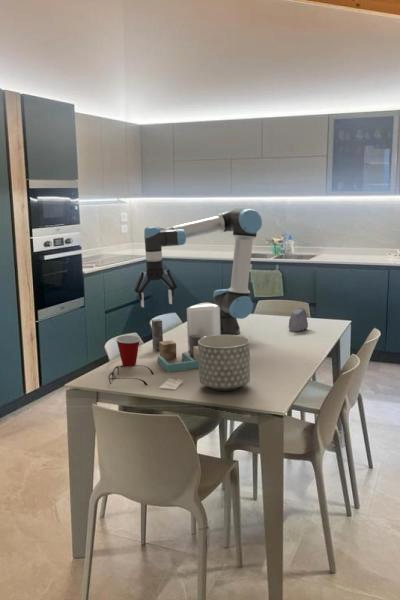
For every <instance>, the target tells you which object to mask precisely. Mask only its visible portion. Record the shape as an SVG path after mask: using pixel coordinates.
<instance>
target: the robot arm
mask: <svg viewBox="0 0 400 600" xmlns="http://www.w3.org/2000/svg"><path fill="white" fill-rule="evenodd" d="M262 223H263V220H262V216H261V214H260V213H259V212H258V211H257V210H256V209H253V208H234V209H231V210H227V211H224V212H220V213H217V214H216V215H215V216H212V217H209V218H208V217H207V218H203V219H200V220H194V221H190V222H185V223H181V224H177V225H173V226H168V227H164V228H162V227H160V226H147V227H145V228H144V230H143V231H144V234H143V235H144V236H143V238H144V249H145V260H146V261H145V263H146V264H145V265H146V271H139V277H138V280H137V282H136V285H135V287H134V289H133V292H135V293H137V294H138V300H139V301H140V307H141V308H145V300H144V299H145V297H144V295H145V294H144V292H143V291H144V290H145V289H146V287H148V284H149V283H150V282H151V281H152V282H153V281H159V280H161V281H162V283H164V285H165V286H167V288H168V290H167V291H168V304H170V305H173V297H175V296H174V295H175V294H174V293H175V292H174V290H175V289H178V286H177V283H176V282H175V280H174V279H173V276H172V275H171V271H170V270H169V269H167V268H166V269H164V267H163V252H162V251H163V249H162V248H164V247H165V248H166V247H174V246H175V247H176V246H177V247H178V246H183V245H185V244H186V242H187V239H191V238H195V237H200V236H205V235H208V234H212V233H213V234H214V233H217V232H219V233H226V232H232V236H233V238H234V240H235V241H234V249H233V250H234V251H233V261H232V262H233V263H232V270H231V280H230V287H229V288H223V289H216V290H214V291H213V296H212V297H213V304H216V305H218V306H219V307H220V331H221V335H238V334H240V332H241V329H240V328H241V327H240V324H239V322H238V320H239V319H240V320H242V319H245V318H248V317H249V316H250V315H251V313H252V311H253V309H254V303H253V301H252V299H251V291H250V290H249V280H250V272H251V260H252V253H253V242H254V240H255V239H256V238H257V234H258V232H259V230H260V229H261V228H262V225H263V224H262ZM164 274H165V275H166V277H167V278H168V280H169V282H170V283H169V282H168V281H167V280H166V278H165V277H164ZM145 276H146V279H145V281H144V282H143V280H144V277H145ZM142 282H143V283H142Z"/></svg>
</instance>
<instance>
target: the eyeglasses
mask: <svg viewBox="0 0 400 600" xmlns="http://www.w3.org/2000/svg"><path fill="white" fill-rule="evenodd" d="M127 367H131V366H123V365H120V366H119V365H117V366H115V367H114V369H113V370H112V371H111V372H110V373H109V375H108V381H109V384H110V385H111V384H112V382H111V381H113V382H114V380H119V379H120V380H121V379H127V380H128V379H133V380H139V381H141V382H143V385H144V386H147V385H148V383H147V382H146V381H144V380H143V379H141V378H136V377H135V378H133V377H116V375H115V370H116V369H117V376H119V372H120V371H119V369H120V368H127ZM138 367H141V365H138ZM143 368H147V369H148V370H149V371H150V373H151V375H155V373H154V372H153V370H152V369H151V368H150V367H148V366H146V365H143ZM110 376H112V377H110Z"/></svg>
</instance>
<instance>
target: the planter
mask: <svg viewBox="0 0 400 600" xmlns="http://www.w3.org/2000/svg"><path fill="white" fill-rule="evenodd" d="M250 342H251V341H250V339H249V338H248V337H245V336H241V335H238V334H235V335H213V336H208V337H204V338H201V339H200V340H199V341H198V353H199V368H198V377H199V378H198V381H199V383H200V384H201V385H203V386H205V387H208V388H210V389H212V390H215V391H217V392H218V391H219V392H228V391H235V390H236V389H237V390H238V389H239V388H240V387H243V386H245V385H247V384H248V383H250V381H251V363H250V361H251V355H250V354H251V351H250V348H251V347H250V346H251V345H250Z"/></svg>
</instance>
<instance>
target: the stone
mask: <svg viewBox="0 0 400 600" xmlns="http://www.w3.org/2000/svg"><path fill="white" fill-rule="evenodd" d="M307 318H308V317H307V311H306V310H305V309H304V308H296V309H293V311H292V312H291V314H290V318H289V321H288V329H289V330H290V331H292V330H294V331H293V332H302V331H305V330H307V329H308V327H309V324H308V319H307ZM304 329H305V330H304ZM301 330H302V331H301Z"/></svg>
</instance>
